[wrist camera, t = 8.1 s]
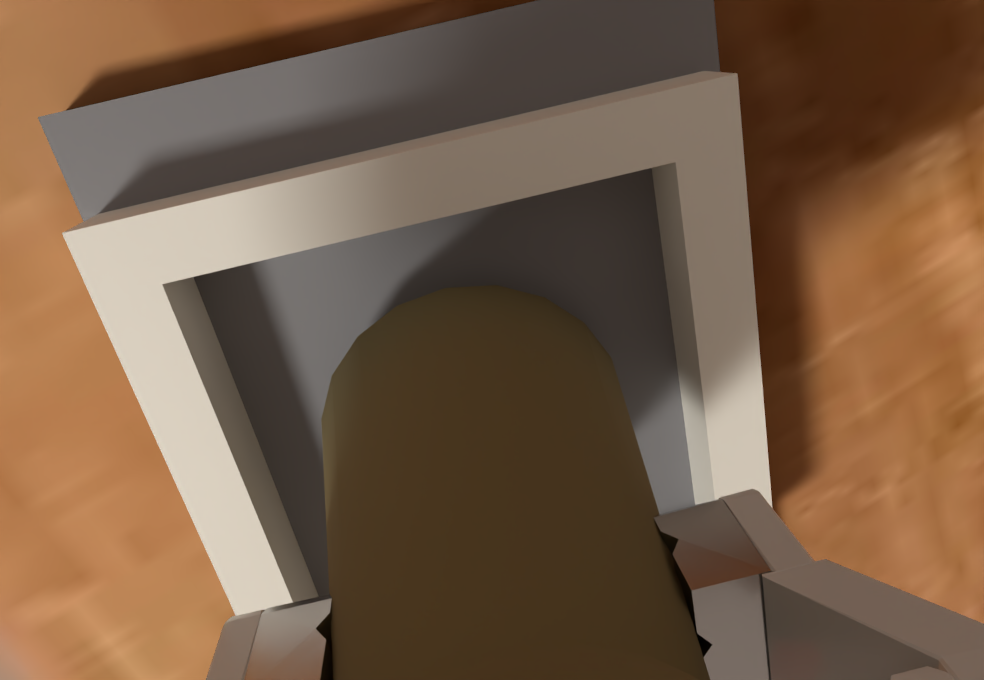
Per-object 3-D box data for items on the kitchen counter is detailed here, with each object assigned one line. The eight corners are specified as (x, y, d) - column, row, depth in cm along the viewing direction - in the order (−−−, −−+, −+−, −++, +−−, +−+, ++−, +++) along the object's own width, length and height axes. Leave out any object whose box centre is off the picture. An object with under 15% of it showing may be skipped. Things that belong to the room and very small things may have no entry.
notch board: (62, 112, 14) (-8, 126, 11) (690, -34, 14) (746, -51, 11) (310, 692, 19) (296, 780, 17) (750, 583, 20) (796, 656, 17)
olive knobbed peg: (605, 254, 14) (1194, 886, 3) (639, 520, 16) (1047, 1365, 6) (282, 321, 13) (-114, 1197, 3) (364, 579, 16) (283, 1558, 6)
